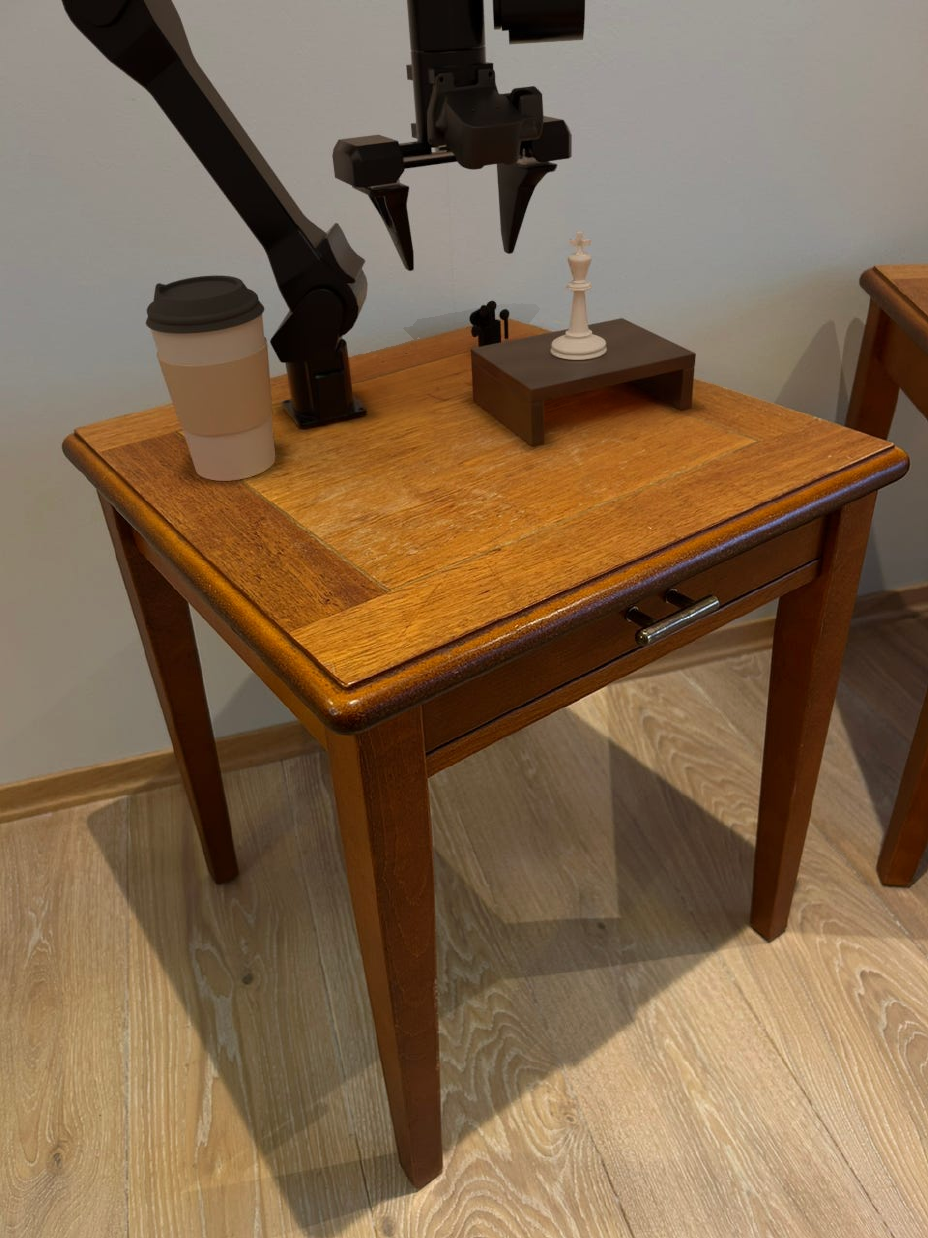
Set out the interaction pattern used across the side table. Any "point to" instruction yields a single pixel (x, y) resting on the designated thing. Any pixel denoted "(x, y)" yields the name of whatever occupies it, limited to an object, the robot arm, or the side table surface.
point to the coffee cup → (216, 372)
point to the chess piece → (579, 311)
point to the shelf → (576, 373)
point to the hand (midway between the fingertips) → (459, 261)
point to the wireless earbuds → (488, 324)
